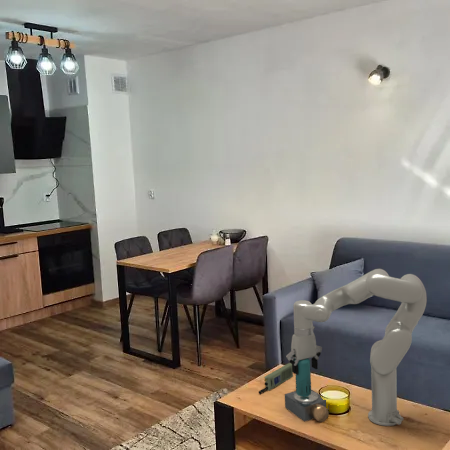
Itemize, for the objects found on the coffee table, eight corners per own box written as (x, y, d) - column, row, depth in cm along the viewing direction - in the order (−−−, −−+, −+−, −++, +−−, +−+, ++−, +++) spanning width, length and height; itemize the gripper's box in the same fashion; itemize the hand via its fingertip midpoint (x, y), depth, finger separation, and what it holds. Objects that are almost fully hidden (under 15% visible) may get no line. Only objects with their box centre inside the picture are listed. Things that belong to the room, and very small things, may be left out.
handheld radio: (294, 377, 247) (262, 396, 229) (288, 375, 249) (256, 394, 231) (293, 363, 246) (261, 381, 228) (287, 362, 249) (255, 380, 230)
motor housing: (334, 417, 206) (334, 402, 205) (310, 425, 201) (310, 410, 200) (308, 400, 222) (307, 386, 221) (285, 407, 217) (284, 393, 216)
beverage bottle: (306, 401, 207) (305, 354, 205) (292, 397, 211) (291, 351, 209) (314, 395, 212) (313, 349, 210) (300, 391, 216) (299, 346, 214)
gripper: (315, 324, 216) (316, 363, 218) (280, 332, 208) (282, 372, 210) (326, 329, 209) (327, 369, 211) (291, 337, 202) (293, 379, 204)
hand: (305, 370), depth 211 cm, fingers open, 9 cm apart
